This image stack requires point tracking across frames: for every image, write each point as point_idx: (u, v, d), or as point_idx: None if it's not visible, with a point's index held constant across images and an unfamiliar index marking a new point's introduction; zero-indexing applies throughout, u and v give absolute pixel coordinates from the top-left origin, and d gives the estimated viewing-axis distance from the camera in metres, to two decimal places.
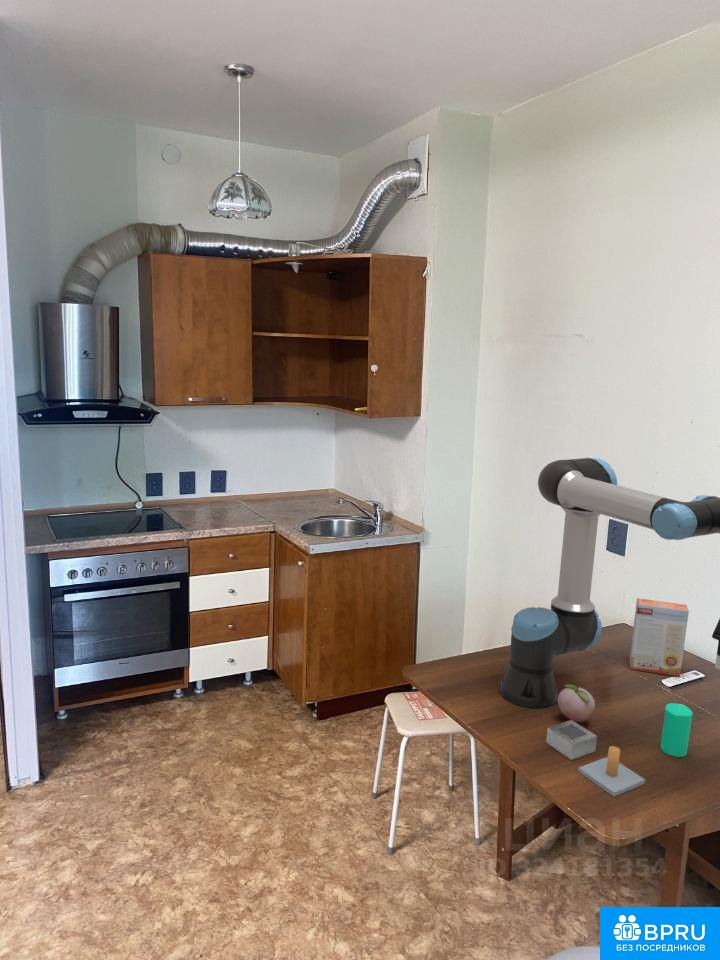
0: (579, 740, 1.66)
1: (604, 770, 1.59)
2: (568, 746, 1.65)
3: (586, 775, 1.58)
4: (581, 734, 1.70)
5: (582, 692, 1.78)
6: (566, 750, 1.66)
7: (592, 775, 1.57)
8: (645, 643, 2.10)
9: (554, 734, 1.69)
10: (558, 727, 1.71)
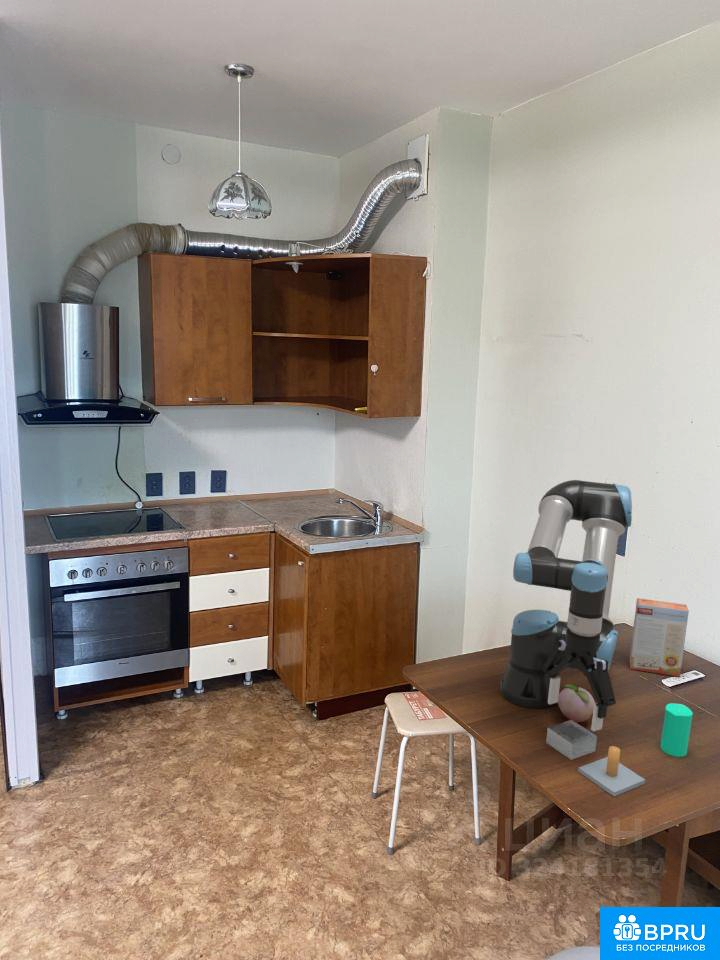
0: (579, 740, 1.66)
1: (604, 770, 1.59)
2: (568, 746, 1.65)
3: (586, 775, 1.58)
4: (581, 734, 1.70)
5: (582, 692, 1.78)
6: (566, 750, 1.66)
7: (592, 775, 1.57)
8: (645, 643, 2.10)
9: (554, 734, 1.69)
10: (558, 727, 1.71)
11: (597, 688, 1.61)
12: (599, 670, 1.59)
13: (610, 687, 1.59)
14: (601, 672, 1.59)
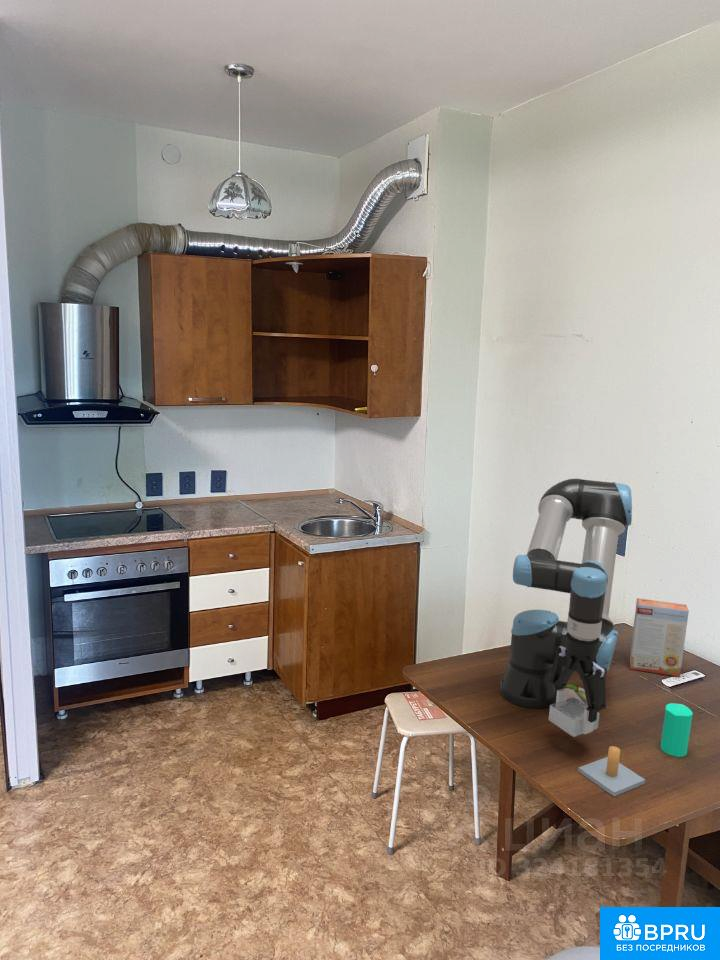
0: (582, 717, 1.65)
1: (604, 770, 1.59)
2: (570, 723, 1.65)
3: (586, 775, 1.58)
4: None
5: (582, 692, 1.78)
6: (568, 727, 1.65)
7: (592, 775, 1.57)
8: (645, 643, 2.10)
9: (556, 711, 1.68)
10: (560, 704, 1.70)
11: (590, 693, 1.63)
12: (597, 678, 1.60)
13: (603, 693, 1.61)
14: (598, 679, 1.60)
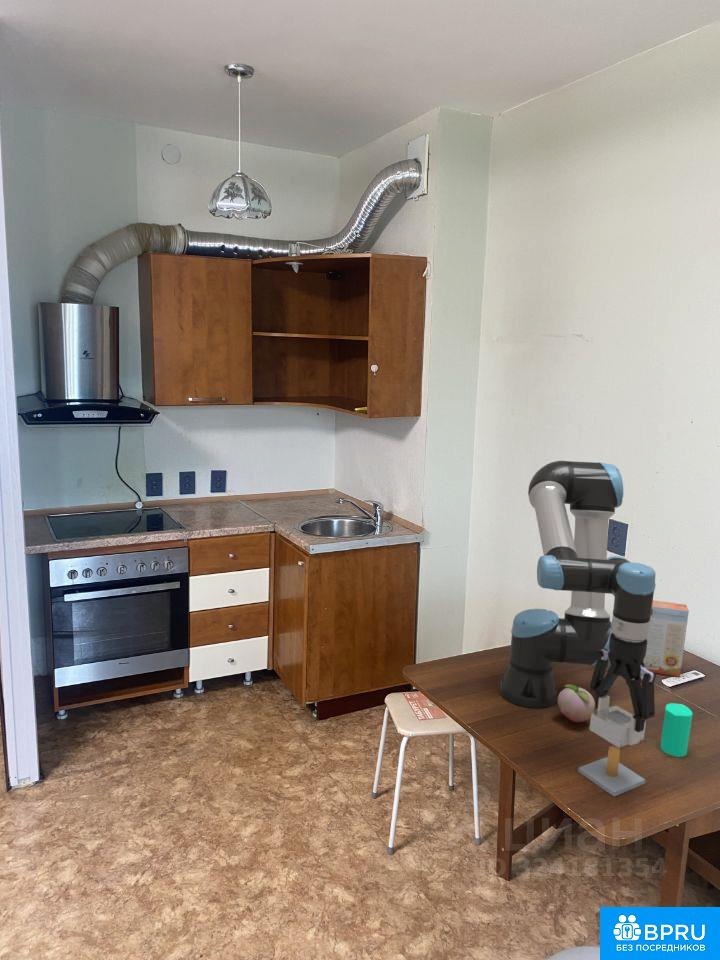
0: (627, 726, 1.52)
1: (604, 770, 1.59)
2: (615, 733, 1.51)
3: (586, 775, 1.58)
4: (628, 720, 1.56)
5: (582, 692, 1.78)
6: (613, 737, 1.52)
7: (592, 775, 1.57)
8: None
9: (599, 720, 1.55)
10: (603, 713, 1.57)
11: (637, 700, 1.50)
12: (645, 682, 1.48)
13: (652, 700, 1.48)
14: (647, 684, 1.48)
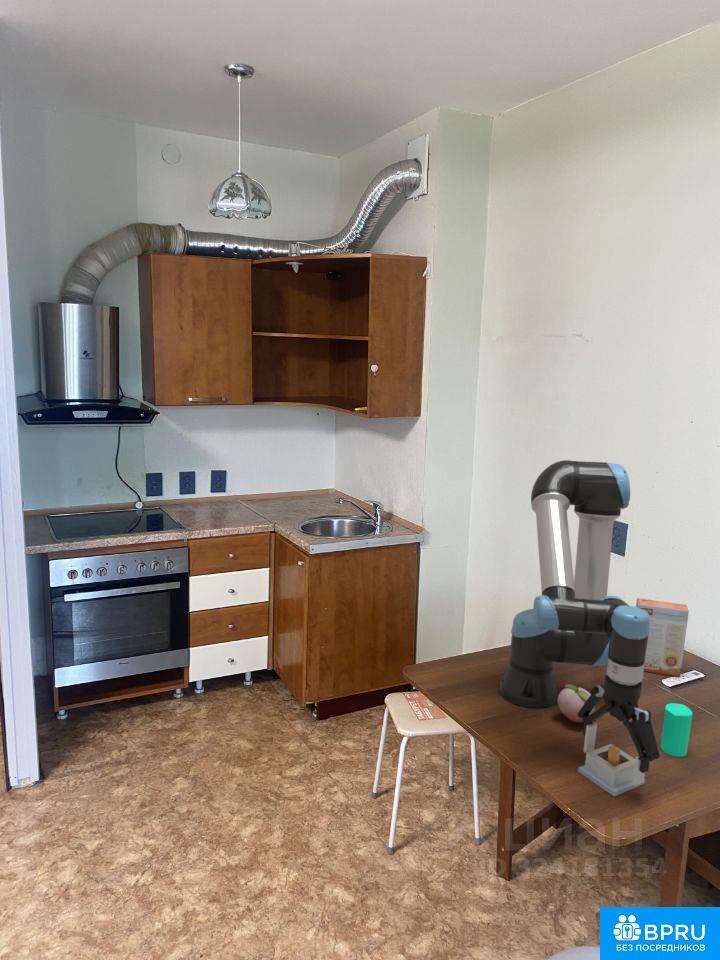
0: (622, 767, 1.54)
1: None
2: (610, 774, 1.53)
3: (586, 775, 1.58)
4: (622, 760, 1.58)
5: (582, 692, 1.78)
6: (607, 778, 1.54)
7: (592, 775, 1.57)
8: None
9: (594, 760, 1.57)
10: (598, 752, 1.59)
11: (639, 740, 1.50)
12: (642, 722, 1.49)
13: (653, 740, 1.49)
14: (643, 723, 1.49)
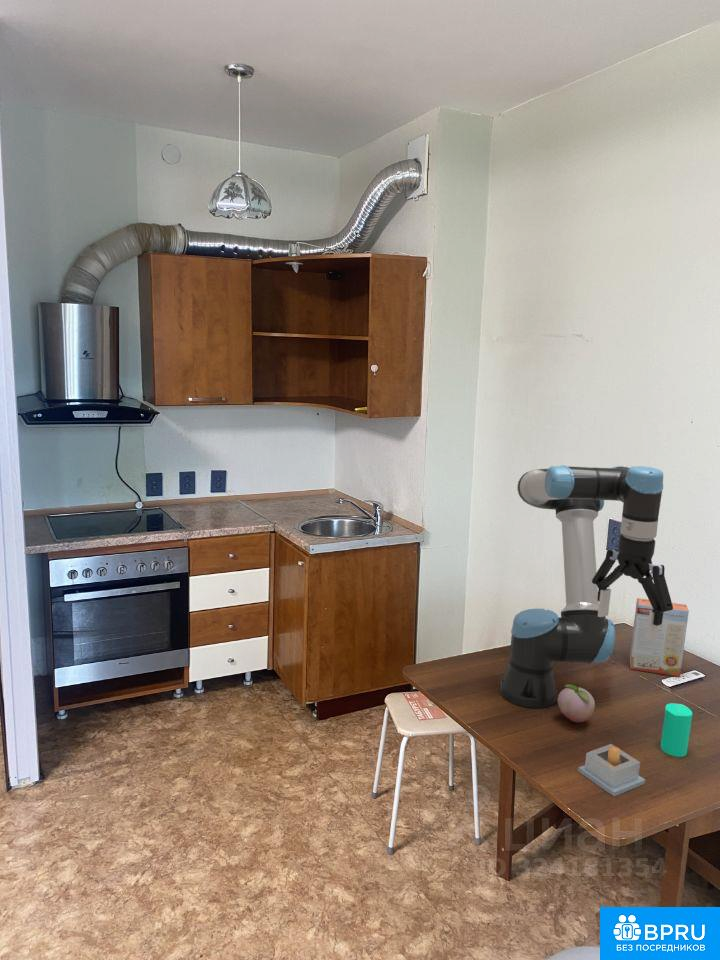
0: (622, 767, 1.54)
1: None
2: (610, 774, 1.53)
3: (586, 775, 1.58)
4: (622, 760, 1.58)
5: (582, 692, 1.78)
6: (607, 778, 1.54)
7: (592, 775, 1.57)
8: (645, 643, 2.10)
9: (594, 760, 1.57)
10: (598, 752, 1.59)
11: (653, 594, 1.55)
12: (655, 575, 1.53)
13: (667, 592, 1.53)
14: (657, 576, 1.53)
